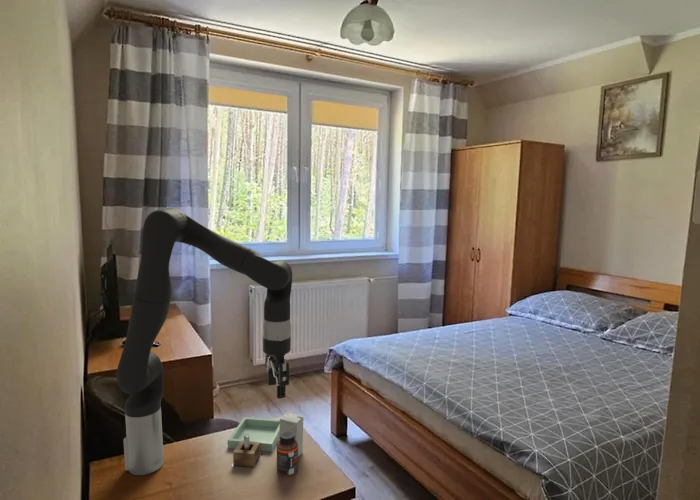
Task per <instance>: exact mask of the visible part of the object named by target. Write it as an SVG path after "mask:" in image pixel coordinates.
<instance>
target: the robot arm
mask: <svg viewBox="0 0 700 500" xmlns="http://www.w3.org/2000/svg"><path fill="white" fill-rule="evenodd" d="M141 238H142V240H141V242H142V243H141V254H140V255H141V256H140V262H139V268H138V273H137V278H136V284H135V288H134V292H133V298H132V304H131V309H130V315H129V316H130V317H129V321H128V327H127V332H126V336H125V343H124V346H123V349H122V352H121V356H120V359H119V362H118V365H117V369H116V375H115V378H116V383H117V385H118V388H120V390H121V391H122V392H124V393H125V394H129V396H128V397H127V399H126V400H125V402H124V416H125V430H126V431H125V434H126V436H125V437H124V438H123V439H122V440H123V441H122V442H123V453H124V455H123V456H124V468H125V472H129V473H130V474H131V475H134V476H145V475H149V474H152V473H154V472H156V471H158V470H159V469H160V468H162V466H163V465H164V461H165V460H164V443H163V442H164V441H163V439H164V438H163V425H162V407H161V405H162V404H161V403H162V398H163V395H164V368H163V364H162V363H163V362H162V360H161V358H160V356H159V355H158V354H156V353H155V352H153V351H152V347H153V345H154V343H155V341H156V339H157V336H158V335H159V333H160V332H161V330H162V327H163V326H164V324H165V322H166V319H167V317H168V314H169V310H170V305H171V302H172V301H171V300H172V295H173V294H172V293H173V288H172V286H173V285H172V281H171V276H170V261H171V256H172V253H173V249H174V246H175V243H177V242H178V243H182V244H184V245H185V244H186V245H189V246H191V247H194V248H196V249H197V250H198V249H199V250H200V251H202V252H203V253H205V254H206V255H208V256H209V257H211V258H212V259H213V260H214V261H215V262H218V264H221V265H223V266H224V267H226V268H228V269H230V270H233V271H235V272H237V273H239V274H242V275H245V276H246V277H248V278H249V279H250V280H252V281H253V282H255V283H256V284H258V285H260V286H261V287H264V288H266V297H265V300H264V302H263V324H262V352H263V353H264V354H265V360H264V367H265V368H266V372H267V384H268V386H275V385H276V398H277V399H278V400H279V399H284V398H286V386H289V385H290V364H289V362H287V361H286V358H285V356H286V355H287V354H288V353H291V349H292V347H291V346H292V345H291V344H292V323H291V293H292V287H293V286H292V285H293V269H292V267H291V265H290V264H289V263H288V262H287V261H285V260H282V259H281V260H280V259H277V260H273V261H271V260H268V259H267V258H265V257H263V256H261V255H260V253H259V252H258V251H257V250H255V249H253V248H250V247H248V246H246V245H244V244H241V243H240V242H239V243H238V242H237V241H234V240H232V239H231V238H227V237H225V236H223V235H222V234H219V233H217V232H216V231H214V230H212V229H210V228H208V227H206V226H205V225H203V224H202V223H200V222H198V221H197V220H196V219H193V218H192V217H190V216H189V215H187V214H186V213H184V212H183V211H181V210H179V209H177V208H175V207H174V208H172V207H170V208H169V207H168V208H161V209H157V210H154V211H152V212H151V213H149V214H148V215H147V216H146V217H145V219H144V223H143V228H142V237H141Z"/></svg>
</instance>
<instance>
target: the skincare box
mask: <svg viewBox="0 0 700 500" xmlns="http://www.w3.org/2000/svg"><path fill="white" fill-rule="evenodd" d="M279 420H280V435H281V433H283V432H286V431H291V432H293V433H294V435H295V439H296V440H297V442H298V458H299V457H300V456H301V455H302V454H303V452H304V451H303V446H304V444H303V443H304V416H301V415H298V414H294V413H290V412H286V413H284V415H282V416H281V417H280V418H279ZM279 440H280V436H279V439H278V441H279Z"/></svg>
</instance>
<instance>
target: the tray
mask: <svg viewBox="0 0 700 500" xmlns="http://www.w3.org/2000/svg"><path fill="white" fill-rule="evenodd" d="M245 435H249V437H250V441H252V442H260V452H272V453H273V451H274V449H275V447H276V446H277V443H278V441H279V436H280V419H274V418H273V419H272V418H259V417H249V416H248V417H247V416H244V417H243V418H242V420H241V421H240V422H239V424H238V425H237V426H236V428H235V429H234V431H233V432H232V433H231V435H230V436H229V438H228V439H227V449H234V450H235V449H236V447H237V446H238V444H239V443H240V441H244V436H245Z"/></svg>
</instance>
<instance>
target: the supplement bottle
mask: <svg viewBox="0 0 700 500" xmlns="http://www.w3.org/2000/svg"><path fill="white" fill-rule="evenodd" d="M276 471H277V474H278V475H279V476H280V477H284V478H288V477H289V478H290V477H293V476H295V475H296V474H297V473H298V472H299V457H298V442H297V440H296V439H295V435H294V433H293V432H291V431H286V432H283V433H281V435H280V440H279V439H278V441H277V443H276Z"/></svg>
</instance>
